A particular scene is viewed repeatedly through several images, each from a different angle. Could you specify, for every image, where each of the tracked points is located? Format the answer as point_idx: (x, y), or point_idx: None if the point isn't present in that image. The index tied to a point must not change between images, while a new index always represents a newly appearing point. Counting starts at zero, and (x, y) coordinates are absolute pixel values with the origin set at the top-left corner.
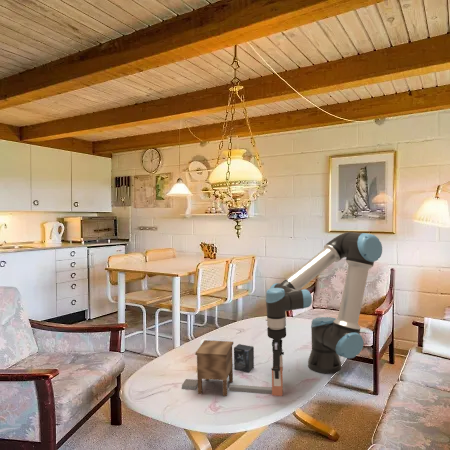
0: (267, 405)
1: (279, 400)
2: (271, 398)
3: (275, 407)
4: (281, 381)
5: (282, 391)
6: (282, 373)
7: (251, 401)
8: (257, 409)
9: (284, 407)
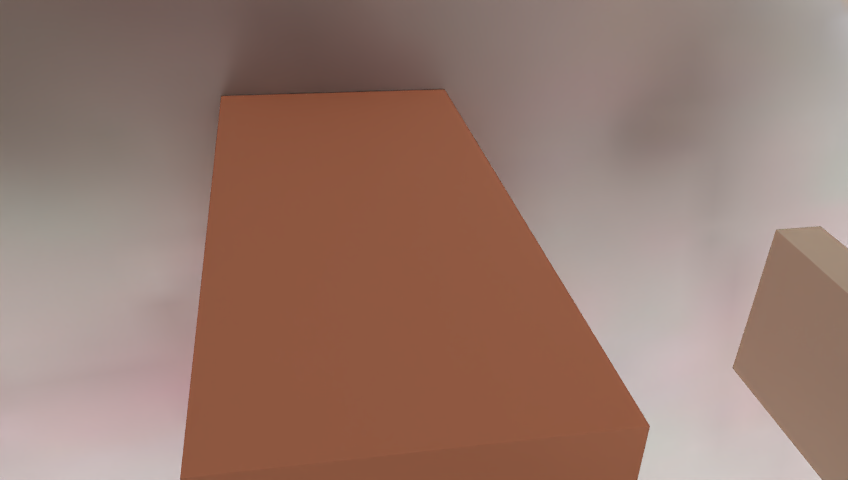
0: (746, 270)
1: (604, 120)
2: None
3: (814, 157)
4: (529, 241)
5: (331, 105)
6: (233, 312)
7: None
8: None
9: (835, 17)
